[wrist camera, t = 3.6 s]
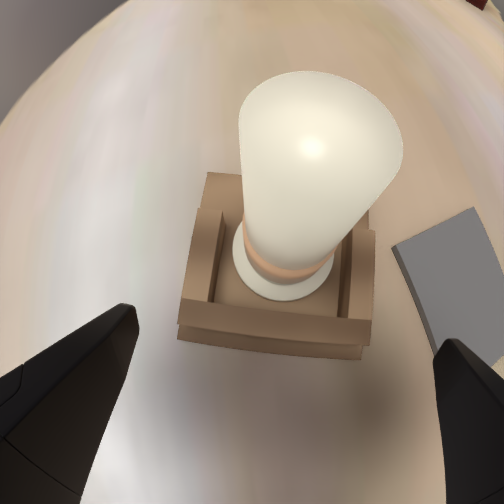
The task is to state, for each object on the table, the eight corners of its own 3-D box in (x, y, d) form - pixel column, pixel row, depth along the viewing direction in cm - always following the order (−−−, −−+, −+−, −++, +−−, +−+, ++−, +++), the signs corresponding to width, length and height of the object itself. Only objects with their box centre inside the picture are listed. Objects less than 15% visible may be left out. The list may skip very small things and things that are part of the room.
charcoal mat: (516, 336, 18) (521, 335, 18) (446, 398, 18) (452, 399, 17) (468, 209, 22) (473, 206, 21) (391, 248, 21) (395, 245, 20)
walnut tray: (356, 359, 19) (375, 362, 16) (179, 339, 19) (166, 339, 16) (364, 197, 22) (379, 177, 19) (209, 177, 22) (203, 153, 19)
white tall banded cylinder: (344, 279, 19) (465, 193, 7) (255, 317, 19) (259, 281, 6) (305, 197, 21) (355, 47, 8) (220, 228, 20) (178, 82, 8)
